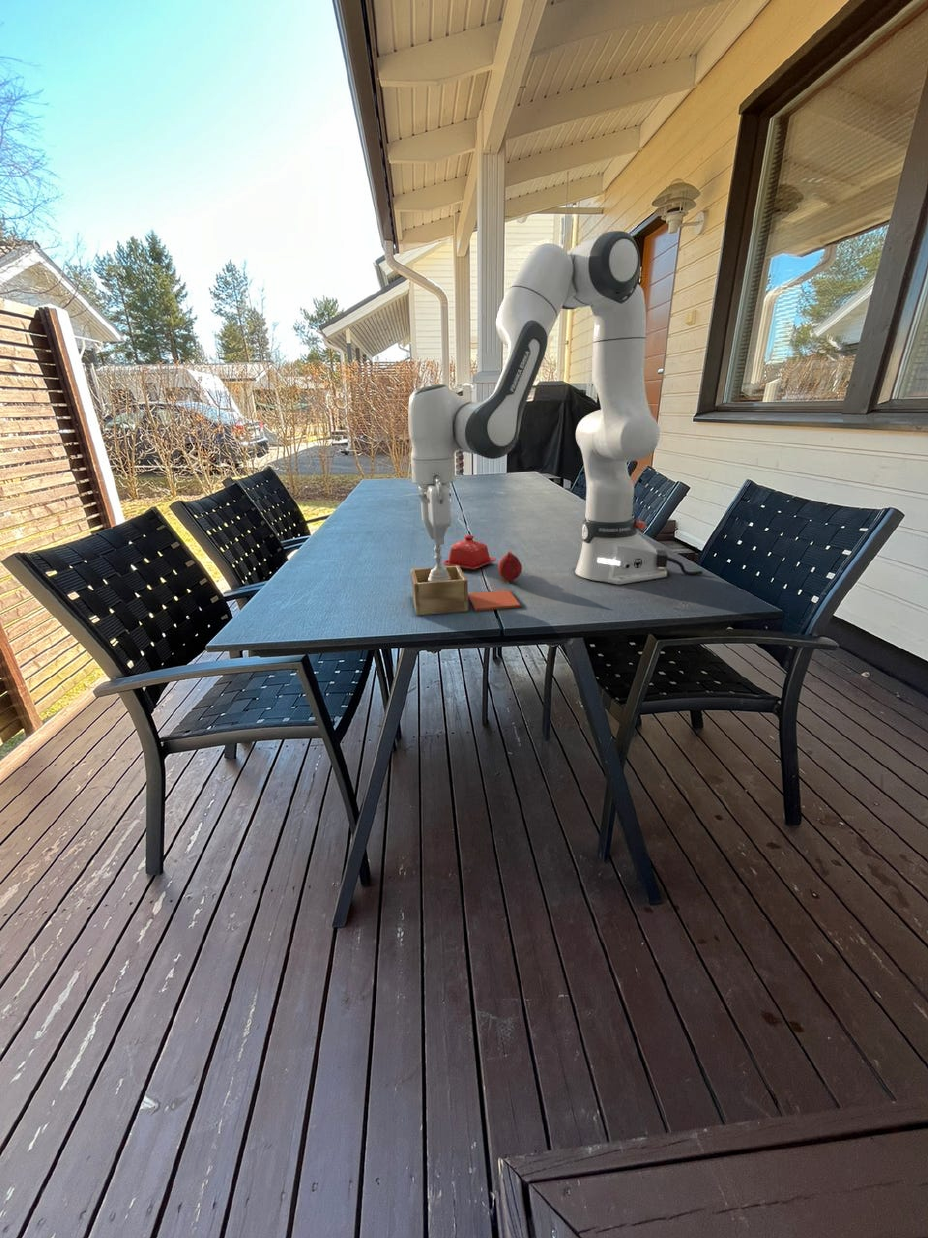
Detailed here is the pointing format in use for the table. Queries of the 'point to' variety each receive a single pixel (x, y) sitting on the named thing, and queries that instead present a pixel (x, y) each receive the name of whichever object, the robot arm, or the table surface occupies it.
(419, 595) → the open wooden box
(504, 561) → the onion
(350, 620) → the table surface
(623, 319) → the robot arm
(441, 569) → the chalice
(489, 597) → the coaster
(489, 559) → the butter dish
